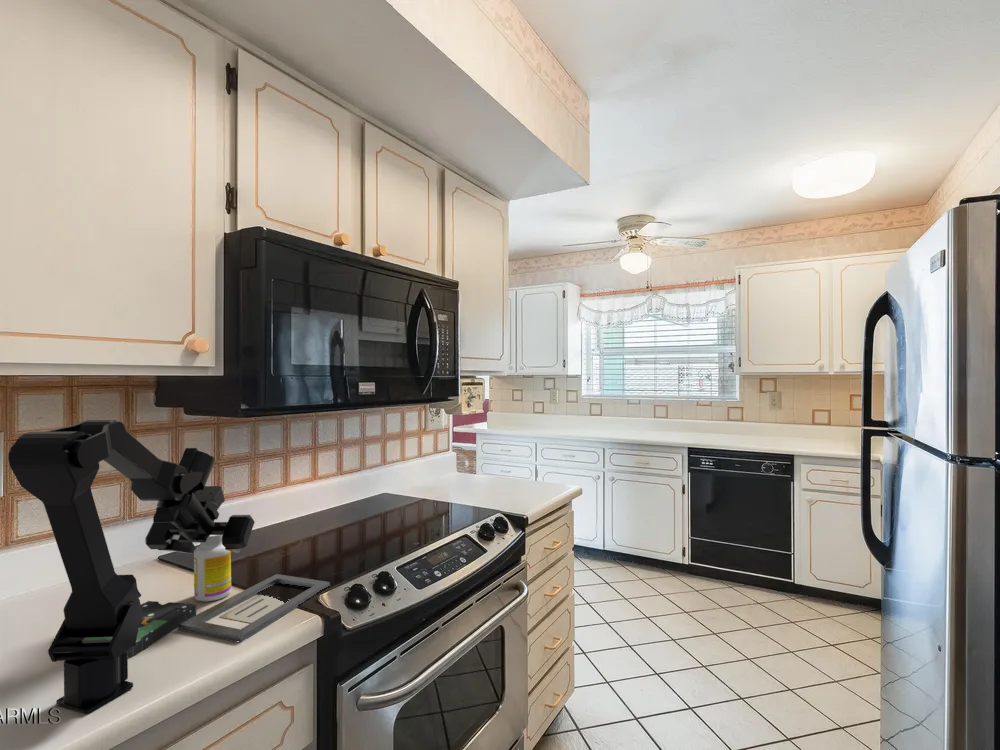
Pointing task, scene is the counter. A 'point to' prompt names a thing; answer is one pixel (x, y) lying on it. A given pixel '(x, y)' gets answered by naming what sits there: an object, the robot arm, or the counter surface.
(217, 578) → the supplement bottle
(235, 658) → the counter surface
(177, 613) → the disk drive
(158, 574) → the counter surface
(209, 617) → the label panel
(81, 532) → the robot arm
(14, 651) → the counter surface
